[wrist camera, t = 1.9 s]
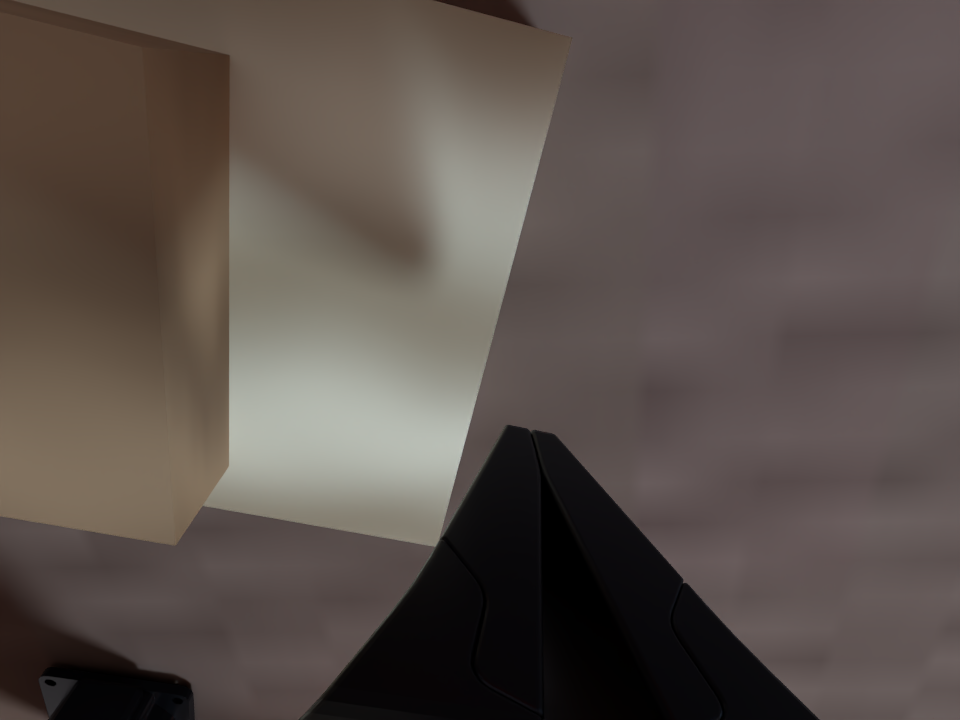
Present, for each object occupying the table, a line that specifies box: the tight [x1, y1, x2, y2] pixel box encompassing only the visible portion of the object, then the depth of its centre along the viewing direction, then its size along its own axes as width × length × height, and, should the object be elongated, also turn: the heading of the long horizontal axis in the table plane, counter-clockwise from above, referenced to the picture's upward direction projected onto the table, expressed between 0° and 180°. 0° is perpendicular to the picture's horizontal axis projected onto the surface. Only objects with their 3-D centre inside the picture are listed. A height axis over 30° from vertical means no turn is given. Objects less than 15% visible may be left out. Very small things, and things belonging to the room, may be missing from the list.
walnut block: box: [0, 0, 230, 546], centre depth 9 cm, size 9×7×2 cm
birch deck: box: [13, 0, 572, 546], centre depth 12 cm, size 12×16×4 cm
